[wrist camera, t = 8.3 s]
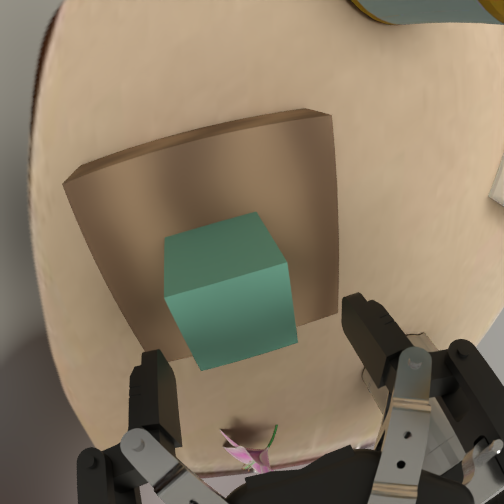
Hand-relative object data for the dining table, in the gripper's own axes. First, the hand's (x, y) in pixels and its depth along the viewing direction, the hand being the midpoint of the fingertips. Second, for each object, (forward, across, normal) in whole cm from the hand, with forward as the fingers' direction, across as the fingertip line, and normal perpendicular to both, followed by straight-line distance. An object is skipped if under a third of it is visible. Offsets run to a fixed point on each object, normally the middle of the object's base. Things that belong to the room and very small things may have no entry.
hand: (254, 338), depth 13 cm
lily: (+10, +4, +30) cm, 32 cm away
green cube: (+6, 0, 0) cm, 6 cm away
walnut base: (+10, 0, 0) cm, 10 cm away
